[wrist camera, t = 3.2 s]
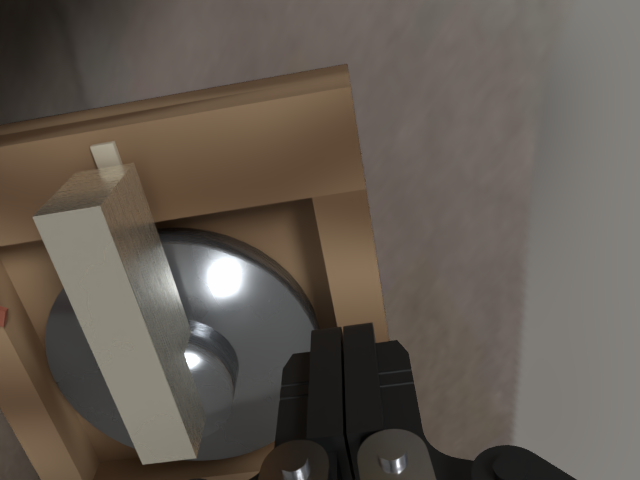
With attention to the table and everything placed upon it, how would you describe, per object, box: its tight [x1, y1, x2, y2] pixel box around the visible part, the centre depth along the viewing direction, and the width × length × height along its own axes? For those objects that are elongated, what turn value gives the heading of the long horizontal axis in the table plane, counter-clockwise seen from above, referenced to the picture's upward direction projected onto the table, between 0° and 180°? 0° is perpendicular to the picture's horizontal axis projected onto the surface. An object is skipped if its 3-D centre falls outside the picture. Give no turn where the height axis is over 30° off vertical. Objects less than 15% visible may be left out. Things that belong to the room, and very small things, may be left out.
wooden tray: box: [0, 64, 389, 480], centre depth 23 cm, size 18×15×3 cm
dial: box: [32, 163, 320, 465], centre depth 20 cm, size 13×10×5 cm
